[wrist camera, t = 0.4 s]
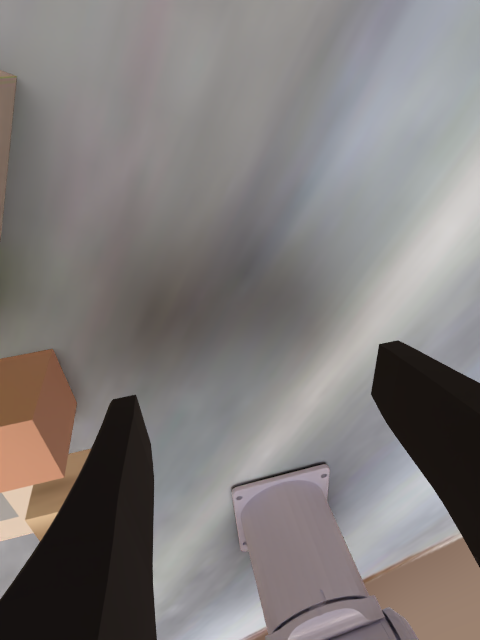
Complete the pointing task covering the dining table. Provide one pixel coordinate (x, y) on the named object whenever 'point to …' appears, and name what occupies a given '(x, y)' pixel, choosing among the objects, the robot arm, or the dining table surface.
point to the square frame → (14, 513)
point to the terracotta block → (34, 420)
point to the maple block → (52, 495)
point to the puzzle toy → (5, 130)
